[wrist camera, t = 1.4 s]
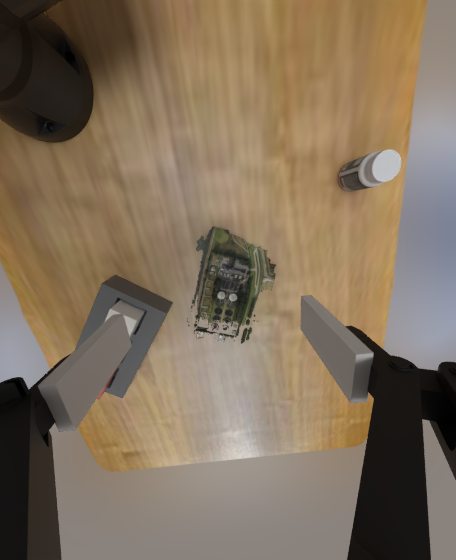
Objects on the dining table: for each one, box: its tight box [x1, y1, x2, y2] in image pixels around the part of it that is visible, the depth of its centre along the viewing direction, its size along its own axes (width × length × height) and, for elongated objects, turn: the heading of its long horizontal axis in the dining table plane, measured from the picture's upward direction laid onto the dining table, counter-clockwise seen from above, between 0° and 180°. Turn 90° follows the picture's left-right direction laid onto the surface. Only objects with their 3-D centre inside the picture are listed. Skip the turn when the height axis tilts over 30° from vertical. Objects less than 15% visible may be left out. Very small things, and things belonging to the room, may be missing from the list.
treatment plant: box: [186, 227, 276, 344], centre depth 41 cm, size 25×18×4 cm
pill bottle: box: [339, 150, 401, 191], centre depth 33 cm, size 5×5×8 cm
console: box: [75, 275, 173, 398], centre depth 42 cm, size 12×22×5 cm, turn 151°
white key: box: [105, 299, 145, 337], centre depth 37 cm, size 5×5×4 cm
